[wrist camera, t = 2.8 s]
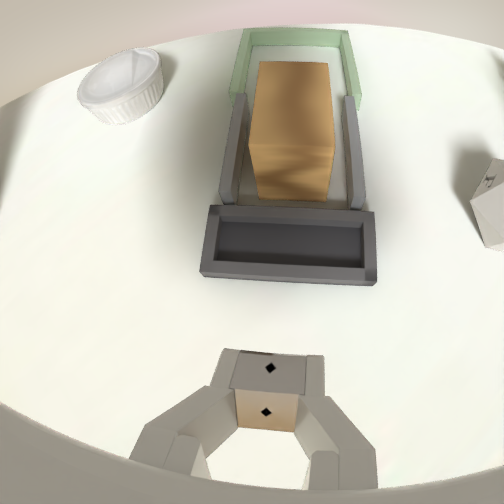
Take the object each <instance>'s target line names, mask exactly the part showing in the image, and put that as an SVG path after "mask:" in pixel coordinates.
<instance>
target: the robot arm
mask: <svg viewBox="0 0 504 504" xmlns="http://www.w3.org/2000/svg"><path fill="white" fill-rule="evenodd" d="M238 427H242V428H253V429H265V430H274V431H284V432H294V435H295V436H296V438H297V440H298V441H299V443H300V445H301V447H302V448H303V450H304V452H305V454H306V455H307V457H308V459H309V460H310V462H309V466H308V469H307V473H306V476H305V480H304V483H303V487H302V490H298V489H282V488H270V487H260V486H251V485H243V484H236V483H229V482H223V481H217V480H212V479H211V476H210V472H209V469H208V466H207V462H206V458H207V457H208V456H209V455H210V454H211V453H212V452H214V451H215V450H216V449H217V448H218V447H219V446H220V445H221V444H222V443H223V442H224V441H225V440H226V439H227V438H229V437H230V436H231V435H232V434H233V433H234V432H235V431H236V430H237V429H238ZM0 504H504V465H502V466H498V467H495V468H492V469H488V470H484V471H481V472H477V473H473V474H469V475H464V476H460V477H455V478H450V479H445V480H440V481H435V482H429V483H422V484H415V485H408V486H400V487H390V488H378V480H377V465H376V453H375V448H374V447H373V446H372V445H371V444H370V443H369V441H368V440H367V439H366V438H365V437H364V436H363V435H362V433H361V432H360V431H359V430H358V429H357V428H356V426H355V425H354V424H353V423H352V422H351V421H350V420H349V418H348V417H347V416H346V415H345V414H344V413H343V411H342V410H341V409H340V408H339V407H338V405H337V404H336V403H335V402H334V401H333V400H332V398H331V397H330V396H325V369H324V356H323V355H307V356H306V355H294V354H276V353H264V352H255V351H246V350H234V349H227V348H224V349H223V351H222V352H221V355H220V358H219V361H218V364H217V366H216V369H215V372H214V375H213V378H212V381H211V383H210V386H203V387H202V388H200V389H199V390H198V391H196V392H195V393H193V394H192V395H190V396H189V397H187V398H186V399H184V400H183V401H181V402H180V403H178V404H177V405H175V406H174V407H172V408H170V409H169V410H167V411H166V412H164V413H163V414H161V415H160V416H158V417H156V418H155V419H153V420H152V421H150V422H149V423H147V424H145V426H144V428H143V430H142V432H141V434H140V436H139V438H138V440H137V442H136V444H135V446H134V449H133V451H132V453H131V455H130V457H129V459H127V458H124V457H121V456H118V455H115V454H112V453H109V452H107V451H104V450H101V449H98V448H96V447H93V446H91V445H88V444H85V443H83V442H81V441H78V440H76V439H73V438H71V437H69V436H66V435H64V434H62V433H60V432H57V431H55V430H53V429H51V428H49V427H47V426H45V425H43V424H40V423H38V422H36V421H34V420H33V419H31V418H29V417H27V416H25V415H23V414H21V413H19V412H17V411H16V410H14V409H12V408H10V407H8V406H7V405H5V404H3V403H2V402H0Z"/></svg>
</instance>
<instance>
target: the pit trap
mask: <svg viewBox="0 0 504 504" xmlns="http://www.w3.org/2000/svg"><path fill="white" fill-rule="evenodd" d="M199 272H200V273H201V274H202V275H203V276H204V277H213V278H228V279H243V280H259V281H276V282H294V283H313V284H333V285H356V286H373V285H374V284H375V283H376V282H377V257H376V234H375V218H374V212H368V211H353V210H336V209H318V208H297V207H273V206H242V205H210V208H209V213H208V219H207V226H206V232H205V238H204V244H203V251H202V257H201V264H200V271H199Z"/></svg>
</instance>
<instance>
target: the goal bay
mask: <svg viewBox="0 0 504 504" xmlns="http://www.w3.org/2000/svg"><path fill="white" fill-rule="evenodd" d="M262 45H301V46H324V47H339V48H340V50H341V56H342V61H343V67H344V73H345V79H346V86H347V92H348V96H354V99H355V105H356V110H359V107H360V101H361V96H362V93H361V88H360V83H359V78H358V73H357V68H356V64H355V59H354V55H353V50H352V46H351V42H350V38H349V34H348V31H346V30H334V29H317V28H250V29H244V30H243V34H242V38H241V42H240V46H239V50H238V54H237V58H236V63H235V67H234V71H233V75H232V80H231V84H230V89H229V93H230V98H231V102H232V106H233V107H234V102H235V97H236V93H244V89H245V84H246V78H247V73H248V67H249V62H250V56H251V51H252V46H262Z"/></svg>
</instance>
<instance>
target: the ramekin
mask: <svg viewBox="0 0 504 504" xmlns="http://www.w3.org/2000/svg"><path fill="white" fill-rule="evenodd" d="M161 66H162V62H161V58H160V56H159V54H158V53H157V52H156V51H155V50H153V49H150V48H143V47H141V48H132V49H128V50H124V51H121V52H119V53H116V54H114V55H112V56H111V57H109V58H107V59H105V60H104V61H102V62H101V63H99V64H98V65H97V66H95V67H94V68H93V69H92V70H91V71H90V72H89V73H88V74H87V75H86V76H85V77H84V79H83V80H82V82H81V84H80V85H79V88H78V91H77V98H78V101H79V102H80V104H81V105H82V106H83V107H85V108H87V109H88V110H89V111H90V112H91V113H92V114H93V115H94V116H95V117H96V118H97V119H98V120H100V121H101V122H103V123H105V124H109V125H122V124H126V123H129V122H132V121H134V120H136V119H138V118H140V117H142V116H143V115H145V114H146V113H147V112H149V111H150V110H151V109H152V108H153V107H154V106H155V105H156V104H157V102H158V101H159V99H160V97H161V95H162V93H163V89H164V82H163V76H162V70H161Z"/></svg>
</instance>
